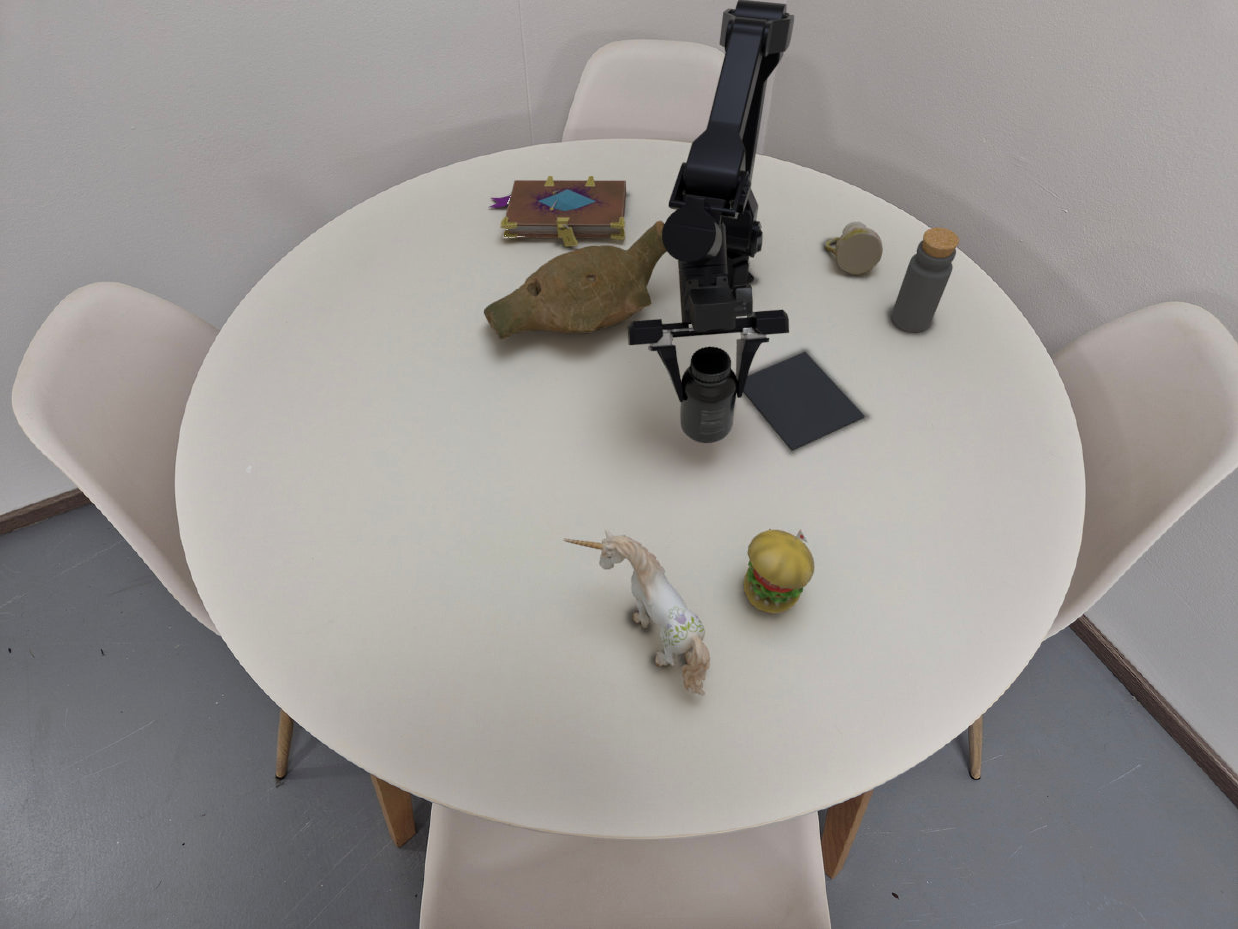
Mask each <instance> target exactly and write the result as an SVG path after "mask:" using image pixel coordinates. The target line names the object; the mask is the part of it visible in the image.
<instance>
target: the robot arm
mask: <svg viewBox="0 0 1238 929" xmlns="http://www.w3.org/2000/svg"><path fill="white" fill-rule="evenodd" d="M787 6H788V5H787V3H780V2H769V1H758V0H737V2H736V5H735V8H727V9H725V10H724V11H723V12H722V19H721V26H720V27H721V28H720V34H719V43H718V44H719V46H722V48H724V56H723V57H724V58H723V61H722V64H721V69H720V73H719V77H718V81H717V84H716V85H717V86H716V89H715V93H714V98H713V101H712V105H711V109H710V114H709V116H708V117H709V118H708V122H707V125H706V128H705V130H704V131H703V132H701V133H700V134H699V136H697V137H696V138H695V139H694V140H693V141H692V143H691V145H690V149H689V152H688V155H687V159H686V162H685V161H683V162H682V163H681V165H680V168H679V171H678V174H677V176H676V180H675V183H674V185H673V188H672V192H671V194H670V198H669V200H668V208H670V210H674V211H673V212H672V213H670V215H669V216H668V217H667V218H666V221H665V222H664V226H663V230H662V240H663V244H664V247H665V249H666V251H667V252H666V253H668V255H669V256H671V257H672V258H673V259H675V260H676V261H677V263H678V280H679V282H678V284H679V300H680V313H681V321H680V322H670V323H663V320H662V318H655V319H644V320H643V319H642V320H632V321H630V322H629V323H628V325H627V327H626V328H627V332H626V333H627V344H628V345H629V346H639V345H640V346H641V345H648V346H647V351H649V352H657V354H658V356H659V358H660V360H661V362H662V363H663V366H664V367H665V369H666V372H667V374H668V376H669V378H670V381H671V384H672V386H673V389H674V391H675V394H676V397H677V400H678V401H679V403H681V402H683V388H682V383H681V381H682V376H681V372H680V367H679V362H678V354H677V345H676V344H673V342H672V341H674V338H675V339H676V338H688V337H700V336H712V335H713V336H714V335H725V334H726V335H727V334H739V335H740V338H737V339H736V346H735V347H736V348H735V349H736V351H735V356H736V357H735V375H736V377H737V393H736V398H738V399H741V398H742V397H743V394H744V392H743V391H744V387H745V383H746V380H747V376H749V372H750V368H751V365H752V363H753V361H754V358H755V355H756V353H757V352H758V350H759V348H760V346H761V345H762V344H764V343H769V342H770V337H767V336H769V335H780V334H782V335H783V334H789V333H790V319H789V315H788V313H787V312H786V311H785V310H784V309H771V310H761V311H760V310H759V311H758V310H757V311H753V308H754V306H753V305H754V301H753V300H754V299H753V288H752V286H751V284H750V283H753V282H754V281H755V276H754V275H753V274H752V273H751V272H750V270H749V269H750V268H749V267H750V266H749V265H750V262H749V260H750V258H752V259H754V258H755V256H756V255H757V254H758V253H760V252H761V251H762V248H763V240H764V233H763V231H762V228H763V227H762V223H761V221H760V220H757V218H758V213H759V203H758V201H757V199H756V197H755V195H754V192H753V189H752V182H753V175H754V167H755V163H756V162H755V161H756V154H757V150H758V149H757V148H758V142H759V135H760V129H761V123H762V116H763V112H764V111H763V110H764V103H765V96H766V90H767V86H768V85H767V84H768V79H769V77H770V76H771V75H772V73H773V72H774V70H776V68H777V66H779V63H780V62H781V60H782V59H783V57H784V53H785V52H787V50H788V48H789V47H790V43H791V40H792V37H793V36H792V35H793V30H794V24H795V15H794V14H790V13H789V12H787ZM690 325H691V327H690Z"/></svg>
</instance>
